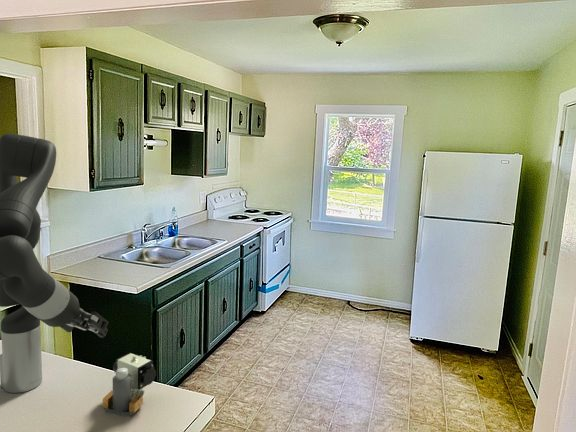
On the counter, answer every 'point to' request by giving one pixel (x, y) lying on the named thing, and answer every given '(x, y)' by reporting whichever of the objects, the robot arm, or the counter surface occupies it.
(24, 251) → the robot arm
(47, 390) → the counter surface
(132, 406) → the clip bracket
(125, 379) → the bottle
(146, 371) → the pneumatic valve
